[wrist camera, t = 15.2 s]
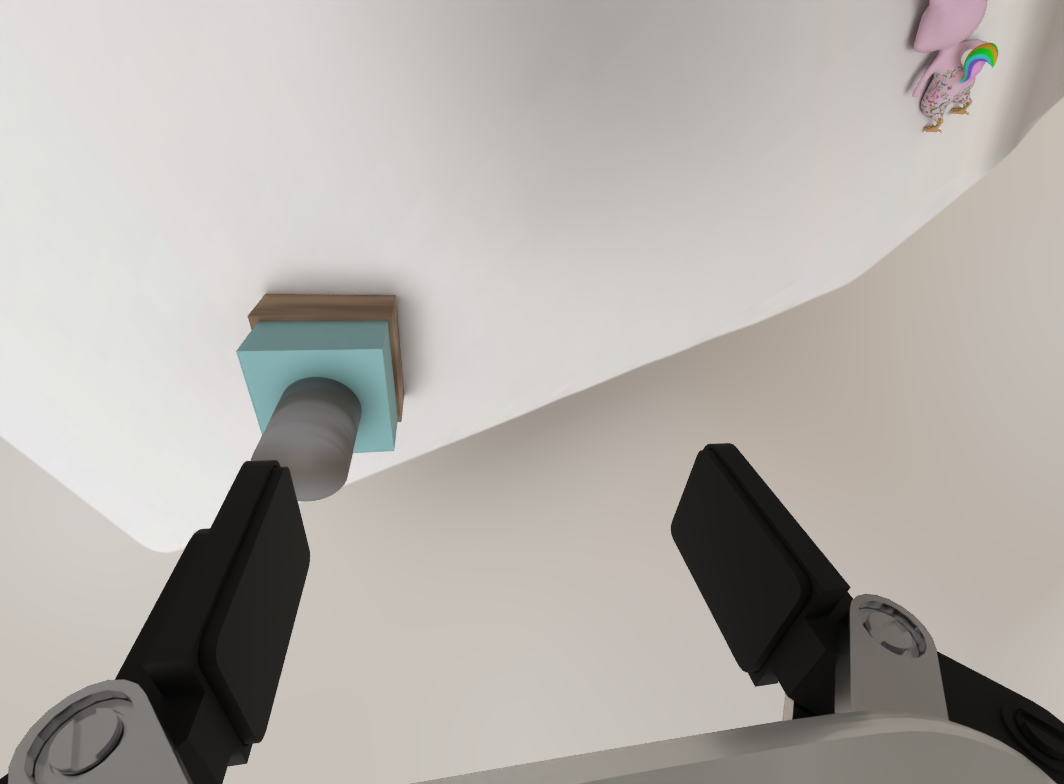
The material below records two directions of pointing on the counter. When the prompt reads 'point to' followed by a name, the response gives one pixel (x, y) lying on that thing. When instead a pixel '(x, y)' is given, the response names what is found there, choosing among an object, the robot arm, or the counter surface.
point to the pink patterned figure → (951, 55)
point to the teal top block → (325, 370)
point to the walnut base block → (337, 318)
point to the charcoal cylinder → (313, 435)
